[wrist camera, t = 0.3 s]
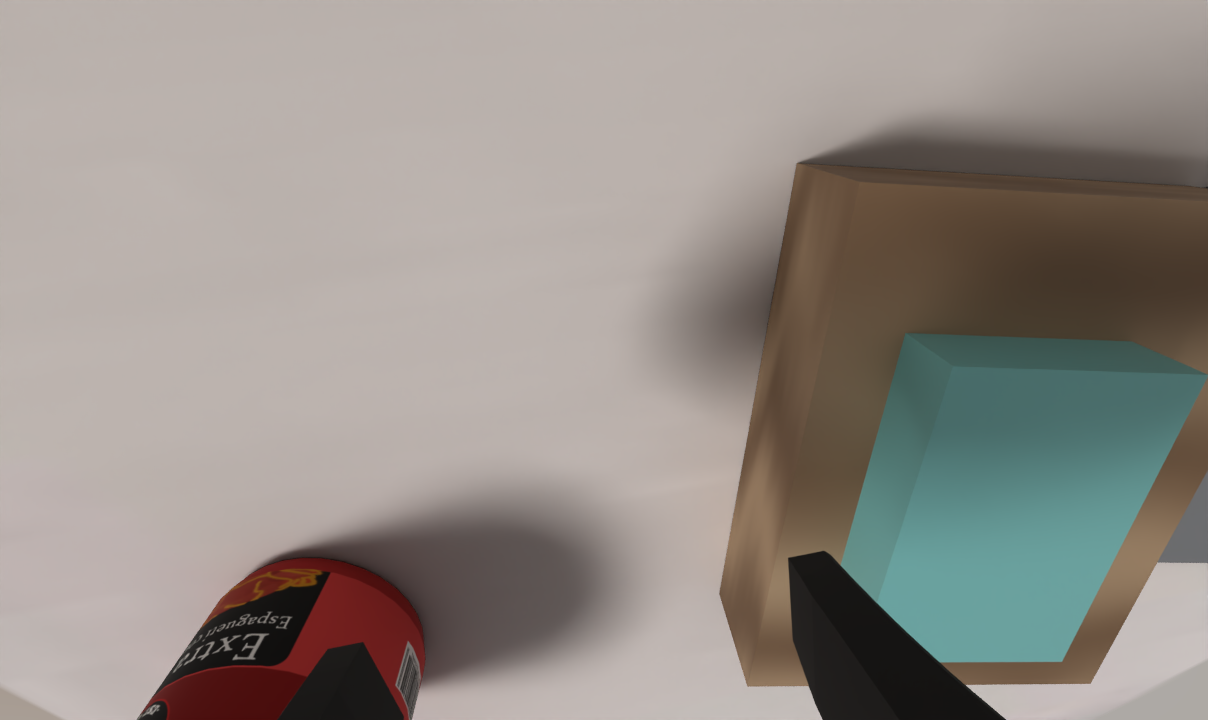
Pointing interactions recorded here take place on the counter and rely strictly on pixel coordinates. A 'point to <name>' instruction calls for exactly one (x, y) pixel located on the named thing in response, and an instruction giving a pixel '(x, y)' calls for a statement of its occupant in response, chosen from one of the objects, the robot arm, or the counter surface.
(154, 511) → the counter surface
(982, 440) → the teal rectangular block
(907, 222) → the board
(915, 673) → the robot arm
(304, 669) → the canned food
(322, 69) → the counter surface
